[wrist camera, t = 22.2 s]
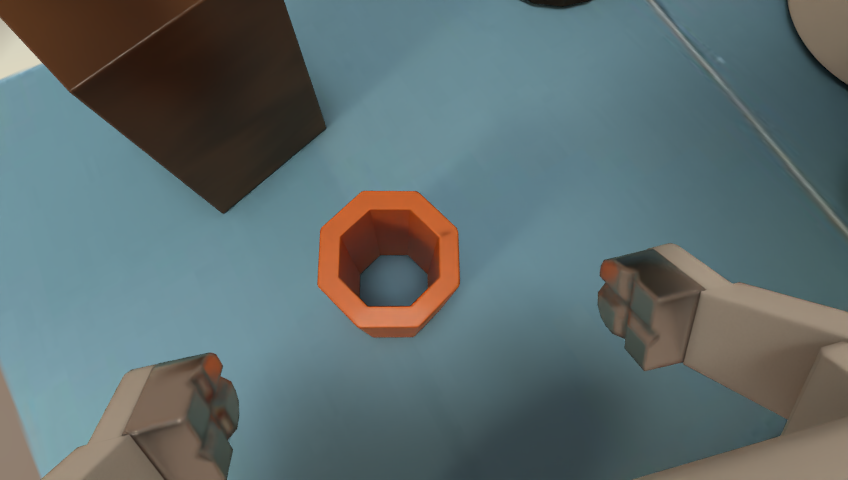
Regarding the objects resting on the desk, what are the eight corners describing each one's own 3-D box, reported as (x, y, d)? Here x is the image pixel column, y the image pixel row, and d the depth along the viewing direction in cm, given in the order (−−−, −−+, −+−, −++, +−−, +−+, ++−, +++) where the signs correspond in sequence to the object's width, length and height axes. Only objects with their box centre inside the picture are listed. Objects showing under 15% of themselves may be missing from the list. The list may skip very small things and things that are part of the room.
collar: (394, 223, 25) (390, 164, 18) (461, 288, 25) (488, 256, 17) (325, 288, 24) (288, 256, 17) (393, 358, 23) (388, 359, 16)
